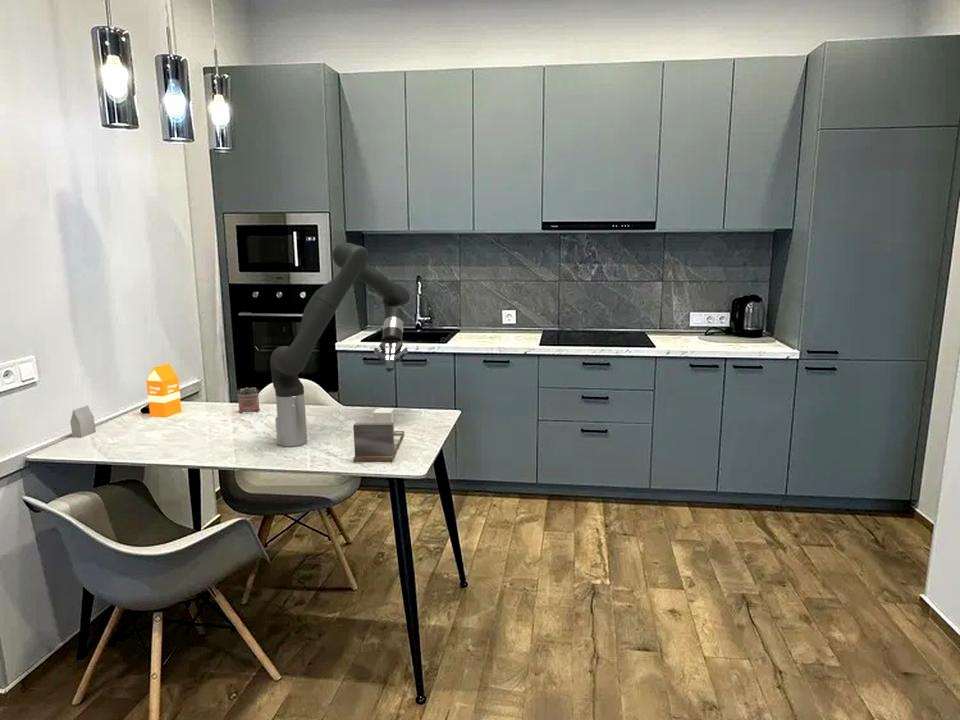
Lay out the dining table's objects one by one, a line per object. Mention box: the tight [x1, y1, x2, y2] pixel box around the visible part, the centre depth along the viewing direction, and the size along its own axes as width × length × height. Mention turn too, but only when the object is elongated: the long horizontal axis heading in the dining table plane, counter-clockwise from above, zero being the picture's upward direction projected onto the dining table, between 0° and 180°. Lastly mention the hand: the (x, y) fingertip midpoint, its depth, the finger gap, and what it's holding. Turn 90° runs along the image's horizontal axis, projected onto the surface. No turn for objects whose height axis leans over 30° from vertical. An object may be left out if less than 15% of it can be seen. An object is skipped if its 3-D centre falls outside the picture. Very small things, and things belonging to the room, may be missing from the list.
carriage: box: [372, 408, 402, 435], centre depth 222 cm, size 7×9×9 cm
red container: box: [237, 387, 261, 414], centre depth 262 cm, size 8×3×10 cm, turn 101°
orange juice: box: [146, 363, 182, 418], centre depth 260 cm, size 8×9×20 cm
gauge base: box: [352, 421, 405, 463], centre depth 216 cm, size 28×12×12 cm, turn 179°
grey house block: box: [69, 405, 96, 439], centre depth 235 cm, size 4×7×10 cm, turn 169°
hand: (389, 370), depth 236 cm, fingers closed
